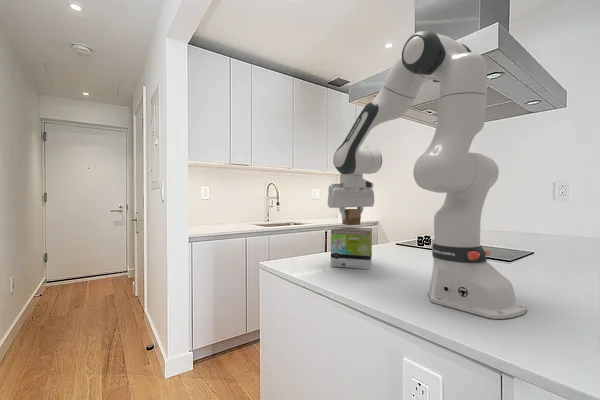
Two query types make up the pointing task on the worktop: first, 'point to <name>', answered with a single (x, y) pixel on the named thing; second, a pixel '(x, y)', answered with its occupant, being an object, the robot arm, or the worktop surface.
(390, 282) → the worktop surface
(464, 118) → the robot arm
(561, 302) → the worktop surface
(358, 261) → the tea box
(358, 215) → the walnut block
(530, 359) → the worktop surface
